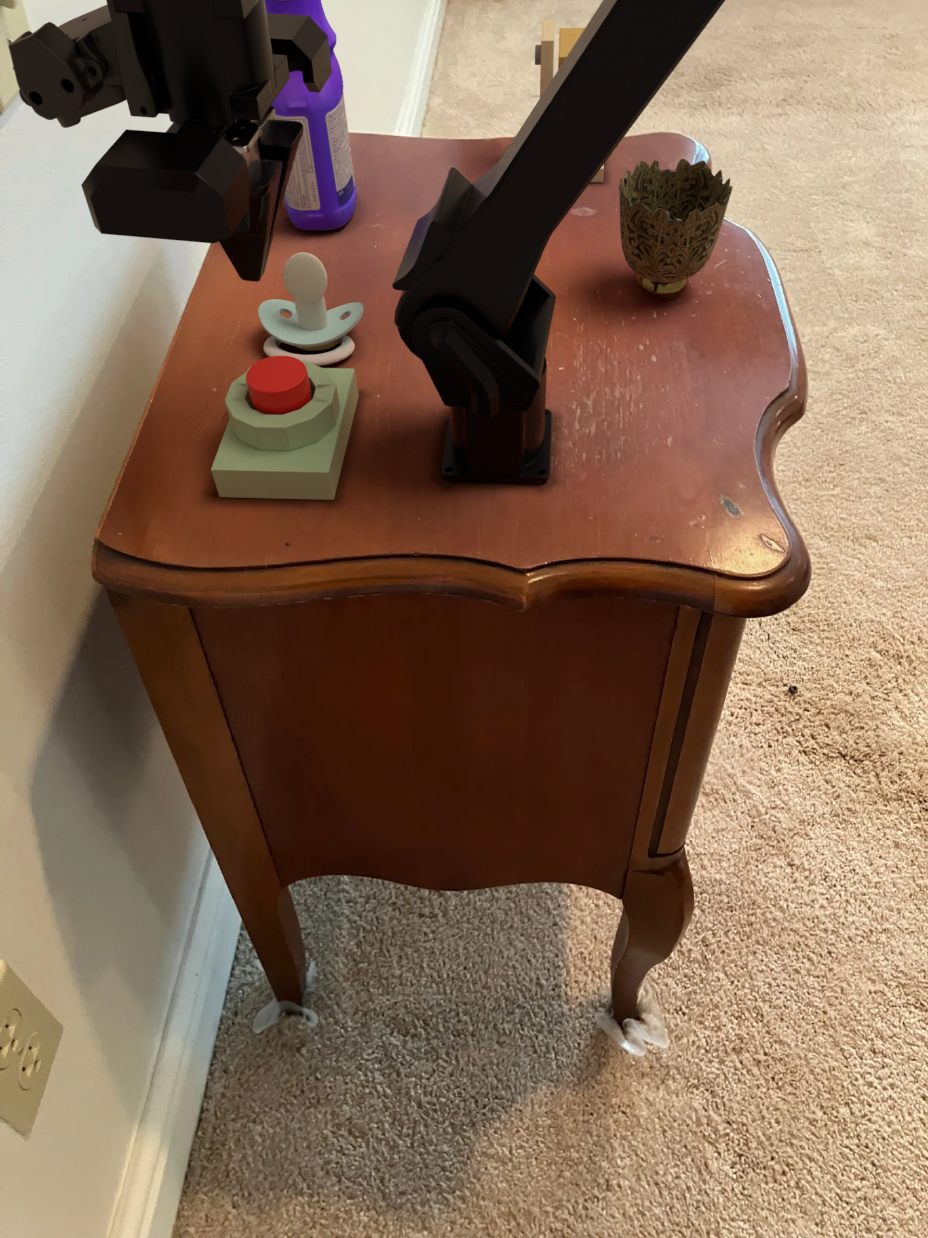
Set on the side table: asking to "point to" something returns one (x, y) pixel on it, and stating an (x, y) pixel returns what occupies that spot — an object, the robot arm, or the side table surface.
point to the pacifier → (308, 315)
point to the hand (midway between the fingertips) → (252, 277)
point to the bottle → (317, 137)
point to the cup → (670, 223)
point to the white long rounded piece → (567, 42)
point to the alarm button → (278, 385)
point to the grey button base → (287, 441)
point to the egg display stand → (551, 66)
